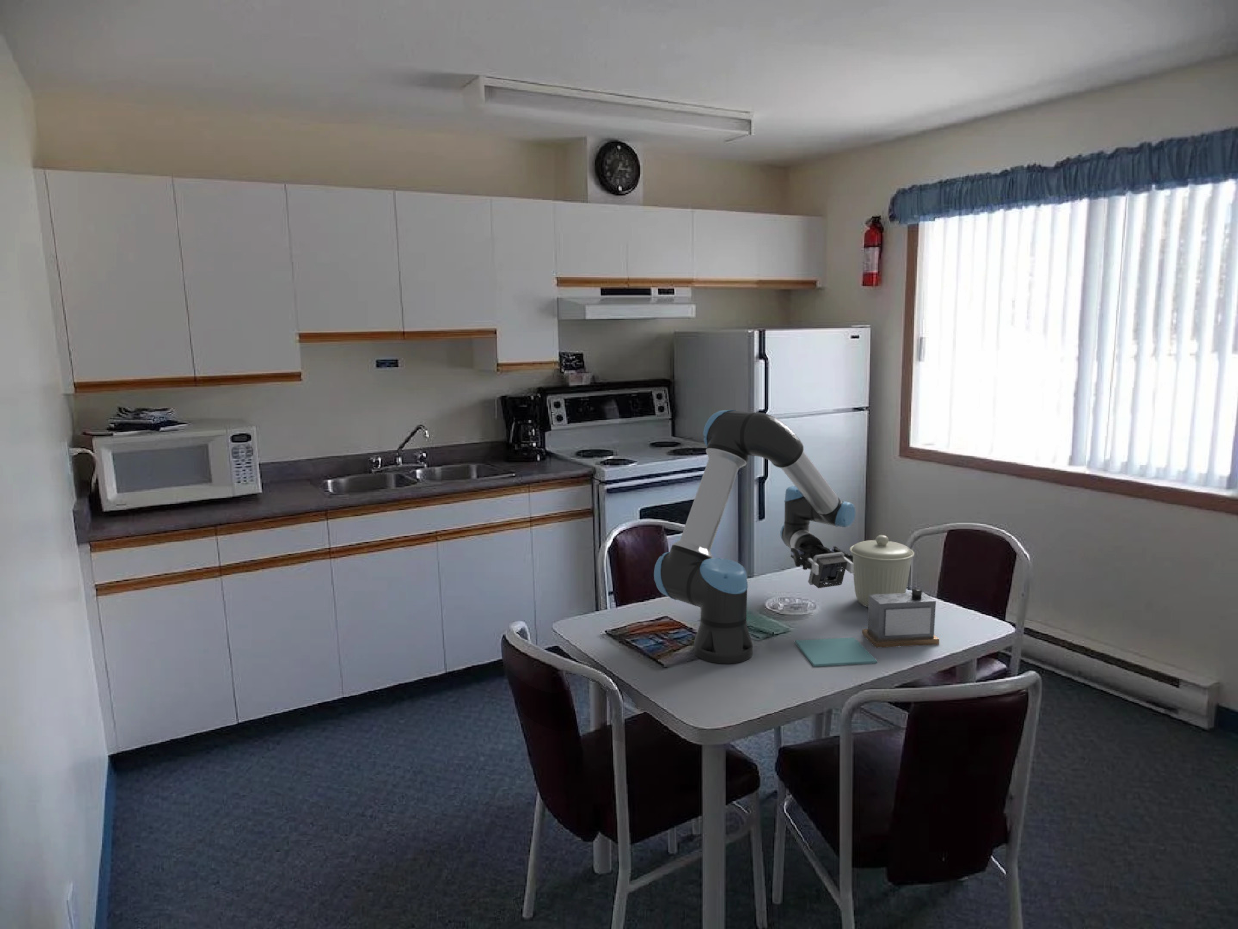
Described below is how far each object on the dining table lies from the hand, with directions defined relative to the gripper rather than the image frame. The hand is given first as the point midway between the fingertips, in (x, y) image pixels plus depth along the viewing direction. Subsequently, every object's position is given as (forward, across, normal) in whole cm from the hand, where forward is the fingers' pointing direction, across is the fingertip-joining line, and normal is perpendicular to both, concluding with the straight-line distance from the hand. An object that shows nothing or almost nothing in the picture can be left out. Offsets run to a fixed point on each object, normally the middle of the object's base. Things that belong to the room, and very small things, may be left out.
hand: (834, 569), depth 214 cm
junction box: (+7, -16, -18) cm, 25 cm away
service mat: (+13, +4, -18) cm, 22 cm away
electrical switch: (-5, 0, -6) cm, 8 cm away
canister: (-20, -22, -18) cm, 34 cm away
